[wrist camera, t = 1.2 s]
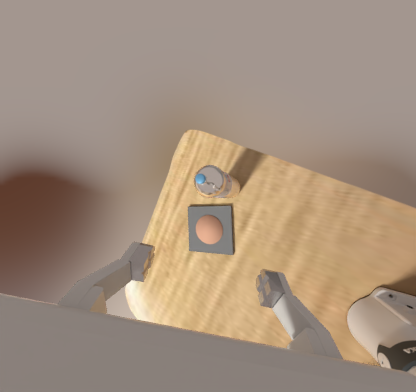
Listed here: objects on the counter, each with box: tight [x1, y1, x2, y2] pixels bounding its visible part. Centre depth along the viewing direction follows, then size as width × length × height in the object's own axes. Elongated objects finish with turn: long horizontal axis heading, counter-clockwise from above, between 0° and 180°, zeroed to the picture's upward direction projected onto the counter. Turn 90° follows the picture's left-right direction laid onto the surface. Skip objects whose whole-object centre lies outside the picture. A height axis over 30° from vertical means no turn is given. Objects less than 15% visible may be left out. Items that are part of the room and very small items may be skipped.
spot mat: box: [188, 206, 233, 255], centre depth 52 cm, size 16×16×1 cm
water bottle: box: [194, 165, 240, 198], centre depth 39 cm, size 7×7×25 cm
